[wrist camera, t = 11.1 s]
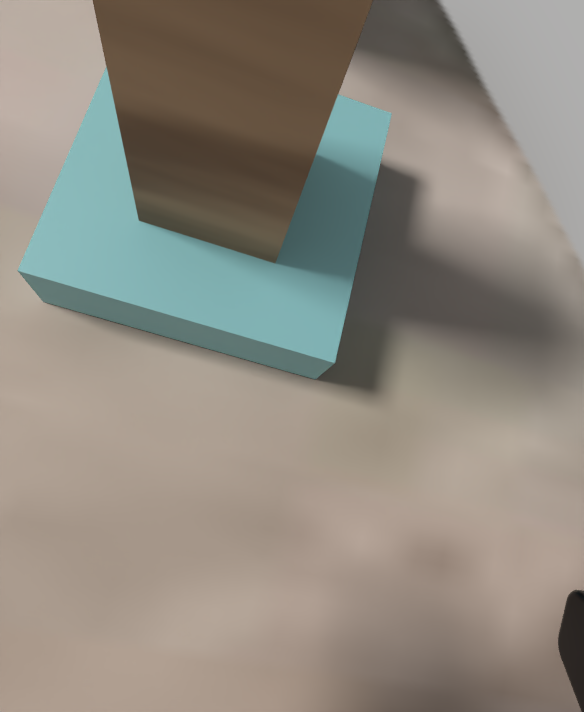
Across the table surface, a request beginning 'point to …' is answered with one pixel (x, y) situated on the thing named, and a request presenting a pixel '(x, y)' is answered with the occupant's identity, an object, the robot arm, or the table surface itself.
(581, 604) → the robot arm
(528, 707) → the table surface
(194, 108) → the block
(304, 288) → the base
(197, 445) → the table surface
